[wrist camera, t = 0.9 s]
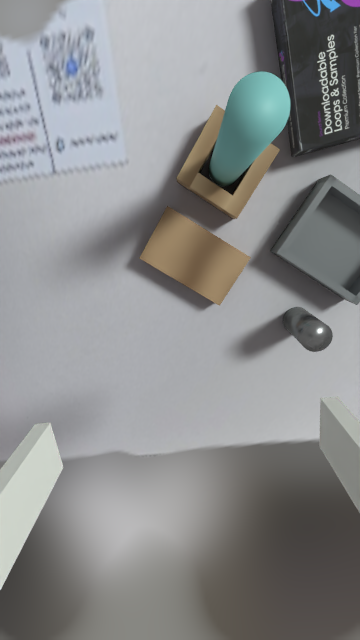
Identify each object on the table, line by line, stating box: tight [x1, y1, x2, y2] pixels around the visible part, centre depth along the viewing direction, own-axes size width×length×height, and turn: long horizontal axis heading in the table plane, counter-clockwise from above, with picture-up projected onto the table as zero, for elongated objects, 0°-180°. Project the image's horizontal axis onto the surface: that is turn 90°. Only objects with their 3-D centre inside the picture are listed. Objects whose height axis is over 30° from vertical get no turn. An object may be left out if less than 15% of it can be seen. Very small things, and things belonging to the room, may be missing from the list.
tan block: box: [140, 206, 251, 306], centre depth 32 cm, size 10×6×2 cm, turn 60°
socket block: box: [176, 105, 280, 219], centre depth 29 cm, size 7×7×2 cm
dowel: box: [209, 71, 290, 186], centre depth 23 cm, size 3×3×16 cm
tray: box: [271, 175, 360, 305], centre depth 31 cm, size 10×8×3 cm
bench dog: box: [283, 307, 332, 352], centre depth 32 cm, size 3×3×6 cm
